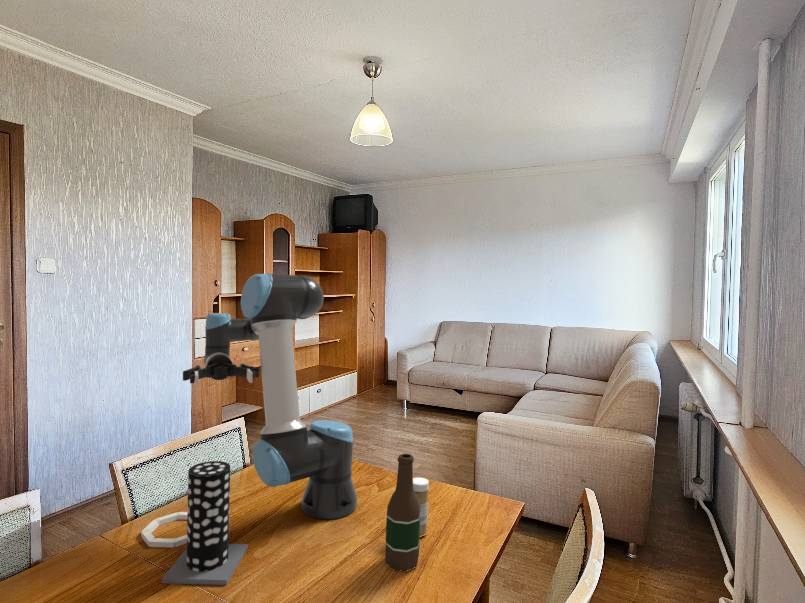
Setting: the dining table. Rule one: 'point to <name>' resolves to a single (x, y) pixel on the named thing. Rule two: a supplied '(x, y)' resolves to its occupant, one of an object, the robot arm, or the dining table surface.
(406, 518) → the beer bottle
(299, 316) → the robot arm
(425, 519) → the sprinkles bottle
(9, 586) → the dining table surface
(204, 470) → the white-spotted black cylinder
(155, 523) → the coaster ring
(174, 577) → the mat
